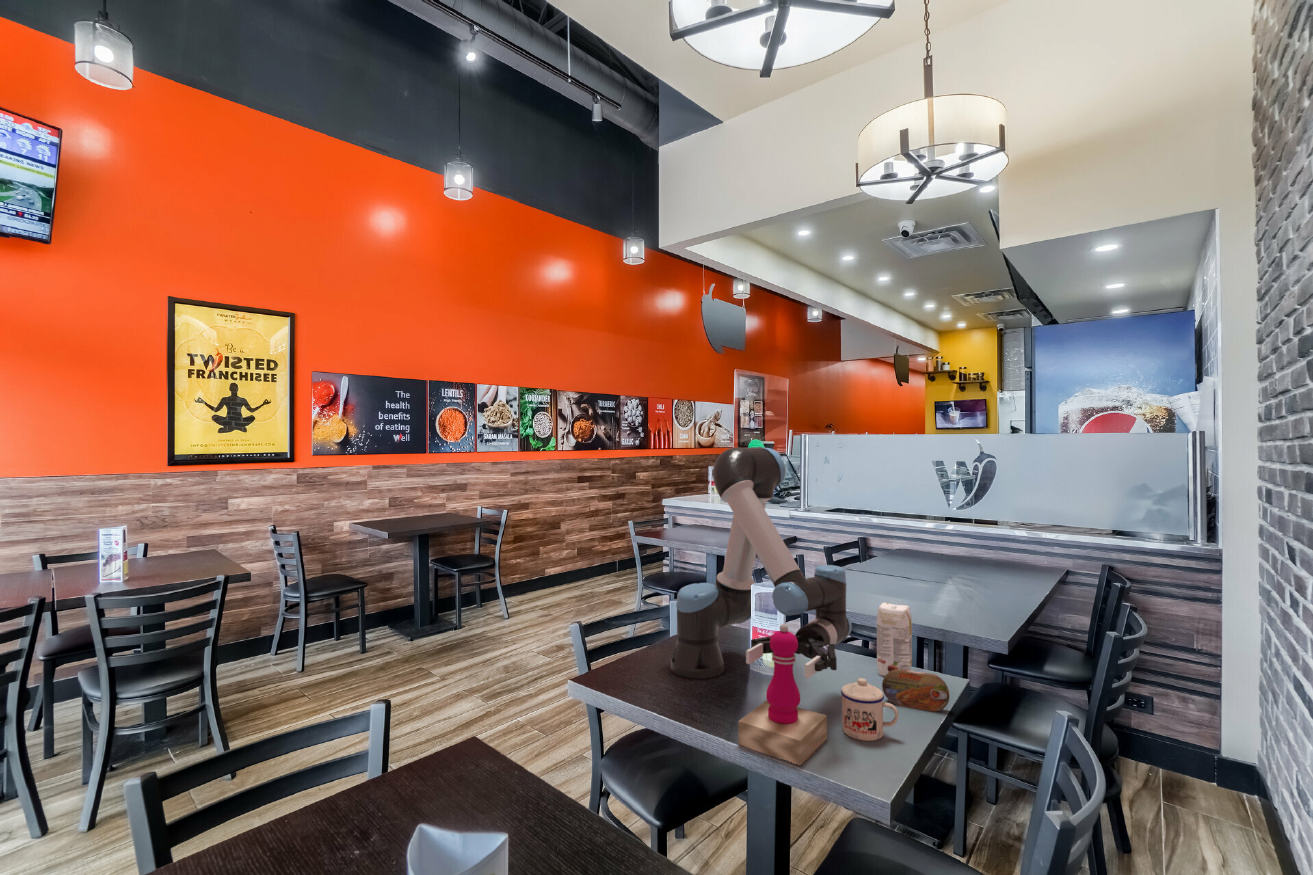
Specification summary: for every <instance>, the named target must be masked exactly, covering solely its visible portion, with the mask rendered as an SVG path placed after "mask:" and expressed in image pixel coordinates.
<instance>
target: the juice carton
mask: <svg viewBox="0 0 1313 875" xmlns="http://www.w3.org/2000/svg"><path fill="white" fill-rule="evenodd" d="M912 624H913V623H912V613H911V609H910V606H909V605H906V604H905V605H903V604H893V603H889V602H882V603H881V604H880V605H879V606H878V609H877V614H876V664H877V668H878V669H877V670H878V673H879V676H881V677H882V676H883V677H885V676H886V675H887V673H889V672H890V671H892V670H895V669H902V670H909V671H911V670H912V669H911V668H912V665H913V663H912V662H913V647H912V646H913V645H912V644H913V643H912V642H913V641H912V639H913V638H912V637H913V636H912Z"/></svg>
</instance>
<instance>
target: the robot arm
mask: <svg viewBox="0 0 1313 875" xmlns="http://www.w3.org/2000/svg"><path fill="white" fill-rule="evenodd" d="M713 464H714V465H713V469H712V479H713V483H714V487H715V490H716V492H717V494H718V496H719V497H720V500H721V501H722V502H724V503H727V504H728V506H729V508H730V509H731V511H732V514H733V515H732V520H731V525H730V532H729V537H728V541H727V547H726V552H725V558H724V563H723V564H724V565H723V569H722V571H721V572H719V573H718V574H717V575H716V579H715V583H714V584H713V583H710V582H699V583H697V582H696V583H690V584H688V585H684V586H683V587H681V588H680V589H679V590H678V591H677V595H676V596H677V597H676V605H675V606H676V607H675V608H676V643H675V647H674V650H673V653H672V656H671V659H670V670H671V672H672V671H673V672H672V673H674V674H675V675H677V676H679V677H683V678H687V679H699V680H703V679H710V678H715V677H718V676H720V675H722V674H723V672H724V671H725V661H724V659H723V654H722V652H721V651H722V650H721V649H720V646H719V641H718V638H719V637H718V636H719V635H718V633H719V630H718V629H721V628H725V627H728V626H732V625H736V624H742V623H745V622H746V621H749V620H751V619H752V618H751V585H752V584H753V583H755V584H756V582H755V580H754V579H753V578H752V577H753V576H752V575H753V571H754V567H755V566H754V565H755V561H756V556H757V558H758V559H759V560H760V563H761V565H762V567H763V568H764V570H765V571H766V573H767V575H768V577H769V579H770V581H771V583H772V584H773V586H774V588H773V591H772V595H771V597H772V601H773V602H772V603H773V605H774V607H775V609H776V610H777V611H778V612H779V613H780V614H782V615H784V616H795V615H801V614H804V613H807V612H810V611H813V610H815V619H813V620H811V621H810V622H809V623H807V624H805V625H803V626H802V627H800V628H799V629H798V630H797V631H796V632H795V634H794V635H795V637H796V638H797V641H798V648H797V650H796V652H795V653H794V654H797V655H802V656H804V657H806V658H808V659H810V660H809V661H807V662H806V663H804V678H805V679H810V678H811V677H812V676H815V674H816V673H817V672H822V671H823V670H827V669H828V668H830V670H832V671H836V670H837V667H838V666H837V665H838V664H837V661H838V660H837V659H838V658H837V655H836V646H837V645H839V644H840V643H842V642H843V641H845V640H846V639H847V637H849V635H850V634H851V632H852V627H853V626H852V625H853V623H852V621H851V619H850V617H849V615H848V614H847V584H848V583H847V578H846V571H845V568H843V567H841V566H839V565H832V564H822V565H821V564H820V565H818V566H816V567H815V569H814V576H813V577H808V578H806V577H805V576H804V573H803V572H802V570H801V569H800V567H799V565H798V563H797V562H796V561H795V559H794V556H793V555H792V554H791V551H790V550H789V548H788V546H787V545H786V543H785V542H784V539H783V538H782V537H781V535H780V533H779V532H778V530H777V528H776V527H775V524H774V523H773V522H772V519H771V518H770V516H769V514H768V513H767V511H766V510H765V509H766V504H767V502H768V501H770V500H771V499H773V497H774V491H775V488H777V487H780V485H781V484H782V483H783V482H784V480H785V477H786V470H787V469H786V464H785V461H784V460H783V459H782V456H781V454H780V453H779V452H778V451H776V450H774V449H773V448H769V447H763V446H758V447H756V446H755V447H753V446H752V447H737V446H736V447H731V448H726V450H724V451H723V452H721V453H720V454H719V455H718V457H717V458H716V460H715V462H714V463H713ZM771 636H772V635H769V636H764V637H759V638H753V639H750V648H748V649H747V650H746V651H745V664H748V665H750V664H752V663H754V662H755V661H757V660H758V659H760V658H762V657H763V656H764V654H772V653H773V650H772V649H771V647H770V638H771Z"/></svg>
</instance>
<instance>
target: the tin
mask: <svg viewBox="0 0 1313 875" xmlns="http://www.w3.org/2000/svg"><path fill="white" fill-rule="evenodd" d="M883 677H884V678H883V680H882V683H881V686H882V687H881V688H882V693H883V695H884V697H886V699H887V700H888V701H890V702H891V704H893V705H895V706H898V707H905V708H910V709H917V710H922V711H927V712H940V711H942V710H943V709H945V708H946V707H947V706H948V705H949V701H950V690H949V688H948V686H947V683H946V681H944V680H943V678H941V677H940V676H938V675H937V674H934V673H927V672H923V671H916V670H915V671H913V670H910V671H909V670H902V669H895V670H892V671H890V672H889V673H887V675H886V676H883Z"/></svg>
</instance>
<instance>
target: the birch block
mask: <svg viewBox="0 0 1313 875" xmlns="http://www.w3.org/2000/svg"><path fill="white" fill-rule="evenodd" d="M769 706H771V705H770V704H769V703H768V701H767V700H765V701H764V702H763V703H761V704H760V705H758V706H756V708H754V709H753V710H751V711H750V712H749V713H748V714H746V715H745V716H743V717H742V718H741V719H739V720H738V722H737V723H738V726H737V727H738V732H737V733H738V738H737V739H738V745H739V746H741V747H744V748H748V749H749V750H753V751H755V752H757V753H758V752H759V753H761V754H764V755H767V756H771V757H773V756H774V757H773V758H776V757H777V759H779V758H781V759H784V760H788V761H789V762H788V763H790V762H792V763H791V764H793V763H794V764H793V765H796V764H798V765H797V766H799V765H801V764H802V765H803V764H804V763H805V762H806V761H807V760H808V759H809V758H810V757H811V756H812V755H813V754H814V753H815V752H816V750H818V748H820V746H822V745H823V744H824V743H825V741H827V740H828V715H826V714H823V713H819V712H817V711H813V710H808V709H806V708H803V707H802V708H801V707H799V706H797V707H796V709H797V710H798V720H797V721H796V722H794V723H791V724H782V723H777V722H774V721H772V720H771V719H770V718H769V716H768V708H769ZM781 759H780V760H781ZM784 760H783V761H784ZM805 760H806V761H805ZM803 762H804V763H803ZM802 765H801V766H802Z"/></svg>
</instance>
